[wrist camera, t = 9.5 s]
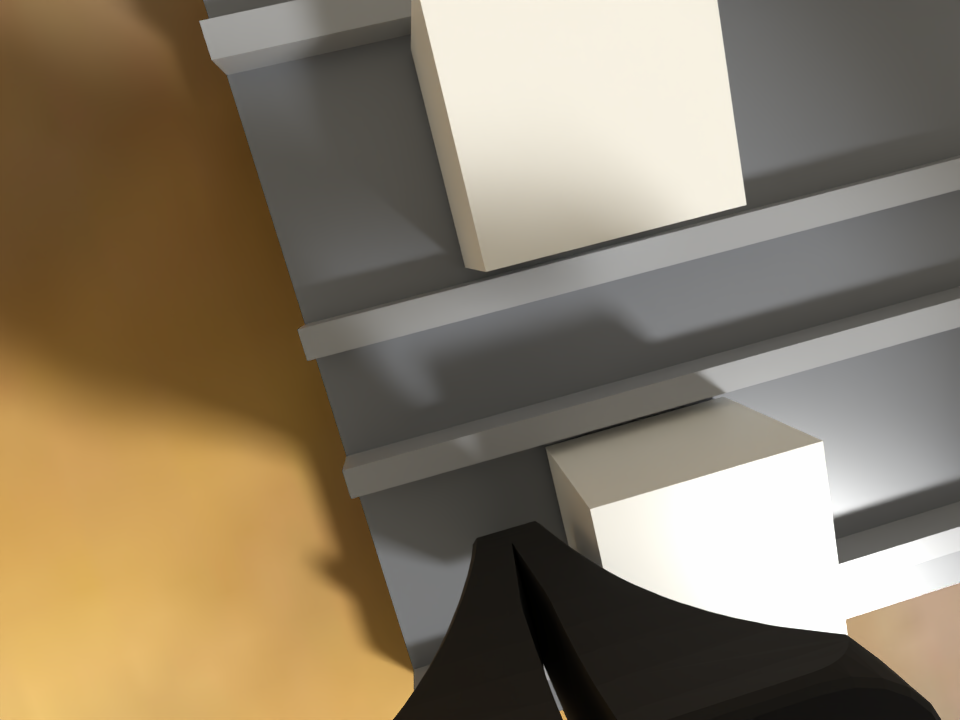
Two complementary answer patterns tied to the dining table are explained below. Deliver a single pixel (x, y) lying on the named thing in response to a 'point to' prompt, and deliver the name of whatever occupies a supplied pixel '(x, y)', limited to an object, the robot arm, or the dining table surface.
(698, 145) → the near switch tab
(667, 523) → the far switch tab
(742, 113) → the switch board
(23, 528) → the dining table surface
